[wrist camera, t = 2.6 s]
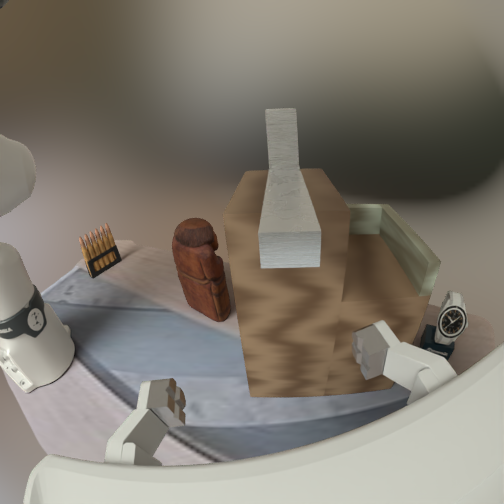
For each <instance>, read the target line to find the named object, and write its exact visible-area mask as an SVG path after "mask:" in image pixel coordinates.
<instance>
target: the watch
mask: <svg viewBox="0 0 504 504" xmlns="http://www.w3.org/2000/svg"><path fill="white" fill-rule="evenodd" d="M465 327H468V322H467V315H466V306H465V304H464V300H463V295H462V294H461V293H457V292H453V291H448V292H447V294H446V296H445V299H444V302H442V306H441V309H440V312H439V315H438V318H437V327H436V326H432V325H428V324H427V325H426V328H425V330H424V332H423V335H422V337H421V343H420V348H421V349H424V350H426V351H429V352H431V353H434V354H437V355H439V356H442V357H444V358H445V359H446V360H447V361H448V359H449V357H450V356H451V354H452V352H453V350H454V341H455V340H456V339H457V337H458V336H459V335H460V334H461V333H463V331H464V330H465Z"/></svg>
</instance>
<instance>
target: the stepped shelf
mask: <svg viewBox="0 0 504 504" xmlns="http://www.w3.org/2000/svg"><path fill="white" fill-rule="evenodd" d="M300 170H301V173H302V176H303V179H304V181H305V184H306V187H307V190H308V193H309V196H310V199H311V201H312V204H313V207H314V210H315V213H316V216H317V219H318V222H319V225H320V229H321V251H320V267H301V268H261V263H260V250H259V237H258V231H259V225H260V219H261V213H262V207H263V201H264V196H265V190H266V184H267V178H268V172H269V170H260V171H246V172H245V174H244V176H243V177H242V179H241V181H240V183H239V185H238V187H237V189H236V191H235V192H234V194H233V196H232V198H231V200H230V202H229V204H228V206H227V207H226V209H225V211H224V213H223V219H224V227H225V234H226V242H227V249H228V256H229V264H230V271H231V278H232V284H233V291H234V298H235V304H236V311H237V317H238V324H239V330H240V337H241V343H242V349H243V355H244V361H245V367H246V373H247V379H248V385H249V390H250V396H251V397H312V396H329V395H342V394H352V393H361V392H369V391H376V390H383V389H390V388H391V387H392V385H393V383H394V381H393V380H391V379H389V378H388V377H386V376H384V375H383V374H381V375H378V376H376V377H373V378H370V379H368V380H366V379H365V377H364V375H363V374H362V372H361V370H360V368H361V364H359V363H357V362H356V361H355V359H354V356H353V353H352V343H353V341H354V340H353V339H352V332H353V331H355V330H358V329H360V328H363V327H365V326H368V325H370V324H373V323H376V322H378V321H381V320H383V321H385V322H386V324H387V325H388V326H389V328H390V329H391V330H392V332H393V333H394V334H395V336H396V337H397V338H398V340H399V341H400V342H406V343H408V344H411V345H412V344H413V341H414V339H415V336H416V334H417V332H418V329H419V327H420V324H421V321H422V319H423V316H424V313H425V311H426V308H427V305H428V302H429V299H430V296H431V293H432V290H433V287H434V284H435V281H436V277H437V274H438V271H439V267H440V263H441V261H440V260H439V259H438V257H437V256H436V255H435V254H434V253H433V252H432V250H431V249H430V248H429V247H428V246H427V245H426V244H425V242H423V240H422V239H421V238H420V237H419V236H418V235H417V234H416V233H415V232H414V230H413V229H412V228H411V227H410V226H409V225H408V224H407V223H406V222H405V221H404V220H403V219H402V218H401V217H400V216H399V215H398V214H397V213H396V212H395V211H394V210H393V209H392V208H391V207H390V206H389V205H388V204H346V203H345V202H344V200H343V199H342V197H341V196H340V194H339V193H338V192H337V190H336V189H335V187H334V186H333V184H332V183H331V182H330V180H329V179H328V177H327V176H326V174H325V173H324V172H323V170H322V169H300Z"/></svg>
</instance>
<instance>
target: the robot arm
mask: <svg viewBox="0 0 504 504" xmlns="http://www.w3.org/2000/svg"><path fill="white" fill-rule="evenodd" d="M8 1H9V0H0V8H2V7H3V6H4V5H5V4H6V3H7V2H8ZM35 180H36V166H35V161H34V158H33V156H32V154H31V152H30V151H29V149H28V148H27V147H26V146H25V145H23V144H22V143H20V142H17V141H13V140H10V139H8V138H6V137H4V136H2V135H1V134H0V217H1V216H3V215H5V214H7V213H9V212H11V211H12V210H13V209H14V208H16V207H17V206H18V205H20V204H21V203H22V202H24V201H25V200H26V199H27V198H29V197H30V196H31V194H32V191H33V189H34V185H35ZM70 335H71V330H70V328H69V327H68V325H63V324H62V323H61V321H60V320H59V318H58V317H57V315H56V314H55V312H54V311H53V309H52V308H51V306H50V305H49V304H46V303H44V301H43V299H42V297H41V294H40V292H39V291H38V290H37V288H36V286H35V285H33V284H32V282H31V280H30V278H29V275H28V273H27V271H26V269H25V266H24V264H23V261H22V259H21V256H20V254H19V252H18V251H17V250H16V249H15V248H14V247H13V246H11V245H9V244H6V243H1V242H0V366H1V367H2V369H3V370H4V371H5V372H6V373H7V374H8V375H9V376H10V378H11V379H12V380H13V381H14V382H15V383H16V384H17V385H18V386H19V387H20V388H21V389H22V390H23V391H24V392H25V393H29V392H31V391H32V390H34V389H35V388H37V387H39V386H43V385H46V384H49V383H51V382H53V381H55V380H56V379H58V378H59V377H60V376H61V375H62V374H63V373H64V372H65V371H66V370H67V368H68V367H69V365H70V364H71V362H72V359H73V357H74V352H75V347H74V343H73V341H72V339H71V337H70ZM352 339H353V340H354V341H353V343H352V353H353V356H354V359H355V361H356V362H357V363H359V364H361V368H360V370H361V372H362V374H363V375H364V377H365V379H366V380H368V379H370V378H373V377H376V376H378V375H381V374H383V375H384V376H386V377H388V378H389V379H391V380H393V381H395V382H396V383H398V384H400V385H401V386H403V387H405V388H407V389H408V390H410V391H412V392H411V394H410V397H409V399H408V401H407V404H408V406H406V407H404V408H402V409H400V410H398V411H395V412H393V413H391V414H389V415H387V416H385V417H383V418H380V419H378V420H376V421H373V422H371V423H369V424H366V425H364V426H361V427H359V428H356V429H354V430H351V431H348V432H346V433H343V434H340V435H337V436H334V437H331V438H328V439H325V440H322V441H319V442H316V443H312V444H309V445H305V446H302V447H298V448H294V449H290V450H286V451H282V452H278V453H273V454H268V455H263V456H258V457H253V458H247V459H241V460H234V461H227V462H218V463H209V464H197V465H178V466H162V463H161V462H160V461H158V460H157V459H155V458H154V457H152V456H153V455H154V453H155V451H156V450H157V448H158V446H159V445H160V443H161V441H162V439H163V438H164V436H165V434H166V433H167V431H168V429H169V427H178V426H185V413H184V412H183V411H182V410H183V409H184V407H185V406H186V401H185V396H184V393H183V391H182V390H181V388H179V387H177V386H176V381H175V380H174V379H173V378H170V379H161V380H152V381H144V382H142V384H141V387H140V392H139V398H138V404H137V410H134V411H133V412H132V413H131V414H130V415H129V416H128V418H127V419H126V420H125V421H124V422H123V424H122V425H121V426H120V427H119V428H118V430H117V431H116V432H115V433H114V434H113V435H112V437H111V438H110V439H109V440H108V442H107V448H106V454H105V461H104V463H102V462H94V461H87V460H81V459H75V458H70V457H65V456H60V455H55V454H49V455H48V456H46V457H45V458H44V459H43V460H42V461H41V462H40V463H39V464H38V465H37V466H36V467H35V468H34V469H33V470H32V472H31V474H30V477H29V480H28V483H27V487H26V492H25V496H24V502H23V504H504V342H502V343H501V344H500V345H499V346H498V347H497V348H495V349H494V350H493V351H491V352H490V353H489V354H488V355H486V356H485V357H484V358H482V359H481V360H480V361H478V362H477V363H476V364H474V365H473V366H472V367H470V368H469V369H467V370H466V371H464V372H463V373H462V374H460V375H459V376H458V375H457V374H456V372H455V371H454V369H453V368H452V367H451V365H450V364H449V363H448V362H447V360H446V359H445V358H444V357H442V356H439V355H437V354H434V353H431V352H429V351H426V350H424V349H421V348H418V347H416V346H413V345H411V344H408V343H406V342H400V341H399V340H398V338H397V337H396V336H395V334H394V333H393V332H392V330H391V329H390V328H389V326H388V325H387V324H386V322H385V321H383V320H381V321H378V322H376V323H373V324H370V325H368V326H365V327H363V328H360V329H358V330H355V331H353V332H352Z"/></svg>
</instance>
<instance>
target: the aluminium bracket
mask: <svg viewBox="0 0 504 504" xmlns="http://www.w3.org/2000/svg"><path fill="white" fill-rule="evenodd" d="M265 114H266V126H267V140H268V154H269V172H268V178H267V184H266V190H265V196H264V201H263V207H262V213H261V219H260V225H259V231H258V237H259V250H260V263H261V268H301V267H320V251H321V229H320V225H319V222H318V219H317V216H316V213H315V210H314V207H313V204H312V201H311V199H310V196H309V193H308V190H307V187H306V184H305V181H304V179H303V176H302V173H301V170H300V168H299V159H298V137H297V119H296V108H290V109H289V108H287V109H266V110H265Z"/></svg>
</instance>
